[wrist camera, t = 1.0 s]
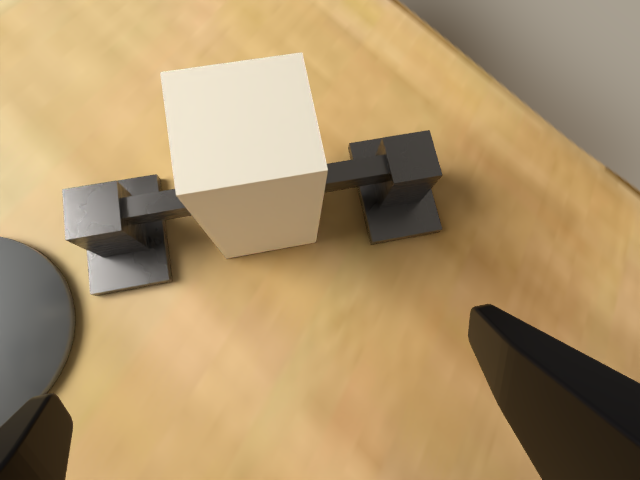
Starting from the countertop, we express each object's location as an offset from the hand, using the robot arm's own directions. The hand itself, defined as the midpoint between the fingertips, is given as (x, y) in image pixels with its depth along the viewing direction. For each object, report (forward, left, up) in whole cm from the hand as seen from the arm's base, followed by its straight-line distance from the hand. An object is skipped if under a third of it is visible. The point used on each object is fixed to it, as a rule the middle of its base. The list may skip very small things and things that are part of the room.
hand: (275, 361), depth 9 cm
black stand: (+8, -1, -13) cm, 16 cm away
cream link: (+8, -1, -13) cm, 16 cm away
